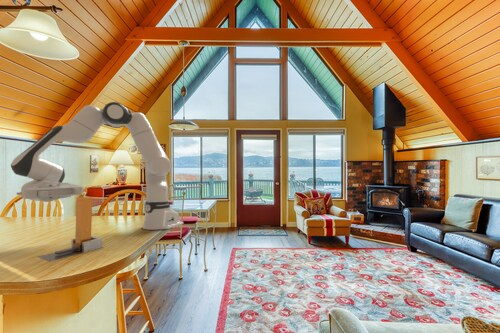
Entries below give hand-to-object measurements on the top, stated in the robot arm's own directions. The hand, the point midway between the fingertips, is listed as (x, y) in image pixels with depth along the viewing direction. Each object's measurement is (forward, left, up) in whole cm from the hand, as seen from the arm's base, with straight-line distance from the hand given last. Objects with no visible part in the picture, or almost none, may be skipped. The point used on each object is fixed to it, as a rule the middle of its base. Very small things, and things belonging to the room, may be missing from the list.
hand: (63, 192), depth 96 cm
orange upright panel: (+2, +14, -20) cm, 25 cm away
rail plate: (+3, +14, -21) cm, 25 cm away
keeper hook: (-1, +14, -21) cm, 25 cm away
